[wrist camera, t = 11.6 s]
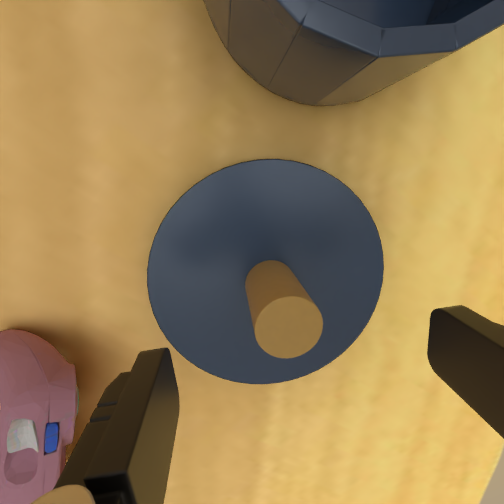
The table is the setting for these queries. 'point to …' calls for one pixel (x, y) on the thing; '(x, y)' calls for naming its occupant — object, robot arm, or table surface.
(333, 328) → the tin lid
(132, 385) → the robot arm
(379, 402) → the table surface
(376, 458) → the table surface
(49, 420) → the pink gamepad
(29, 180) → the table surface
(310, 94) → the tin
